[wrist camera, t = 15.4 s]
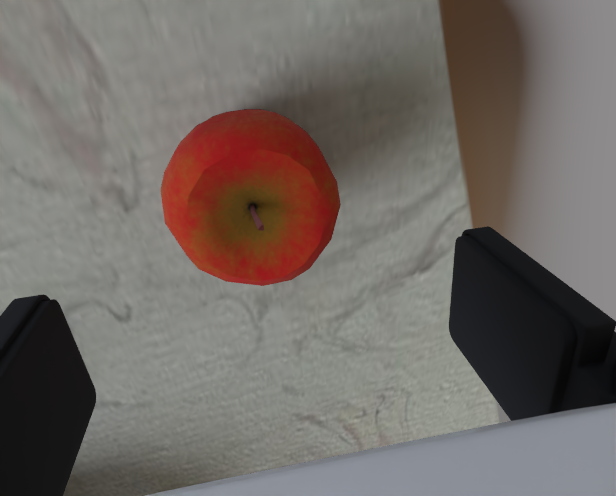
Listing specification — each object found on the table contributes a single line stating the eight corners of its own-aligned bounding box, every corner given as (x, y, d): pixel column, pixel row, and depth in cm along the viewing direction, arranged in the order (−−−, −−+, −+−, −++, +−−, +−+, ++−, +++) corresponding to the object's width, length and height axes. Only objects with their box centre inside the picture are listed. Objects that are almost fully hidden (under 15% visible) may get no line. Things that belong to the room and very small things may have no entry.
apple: (155, 185, 20) (123, 263, 14) (213, 62, 18) (208, 85, 12) (272, 239, 23) (292, 327, 16) (335, 134, 21) (386, 187, 14)
